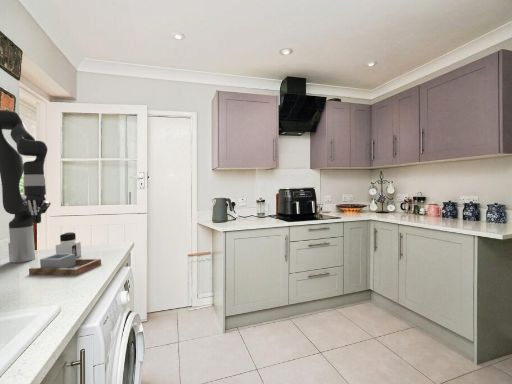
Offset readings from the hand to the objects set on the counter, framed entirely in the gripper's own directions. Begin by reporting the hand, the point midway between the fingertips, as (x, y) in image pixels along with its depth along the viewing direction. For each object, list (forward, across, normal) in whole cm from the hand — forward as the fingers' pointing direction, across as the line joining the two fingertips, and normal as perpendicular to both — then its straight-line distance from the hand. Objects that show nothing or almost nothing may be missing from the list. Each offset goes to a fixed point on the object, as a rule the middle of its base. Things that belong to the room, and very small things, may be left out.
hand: (37, 223), depth 121 cm
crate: (+21, +10, 0) cm, 23 cm away
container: (+21, 0, +17) cm, 27 cm away
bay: (+21, +14, 0) cm, 25 cm away
